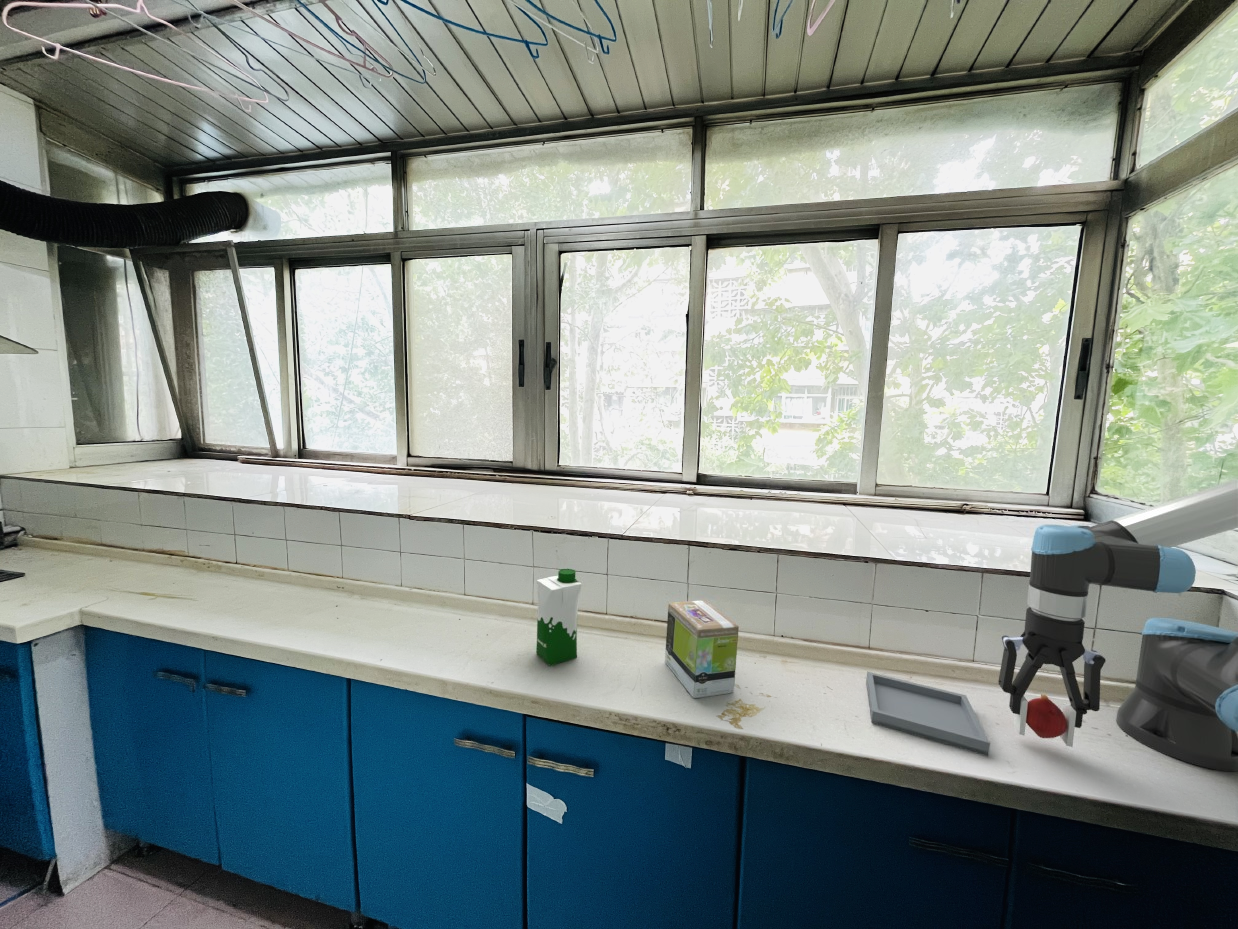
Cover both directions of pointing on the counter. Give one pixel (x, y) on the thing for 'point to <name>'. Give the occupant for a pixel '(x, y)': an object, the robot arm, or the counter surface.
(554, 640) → the milk carton
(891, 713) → the tray
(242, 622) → the counter surface
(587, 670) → the counter surface
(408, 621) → the counter surface
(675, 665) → the tea box
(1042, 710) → the onion
